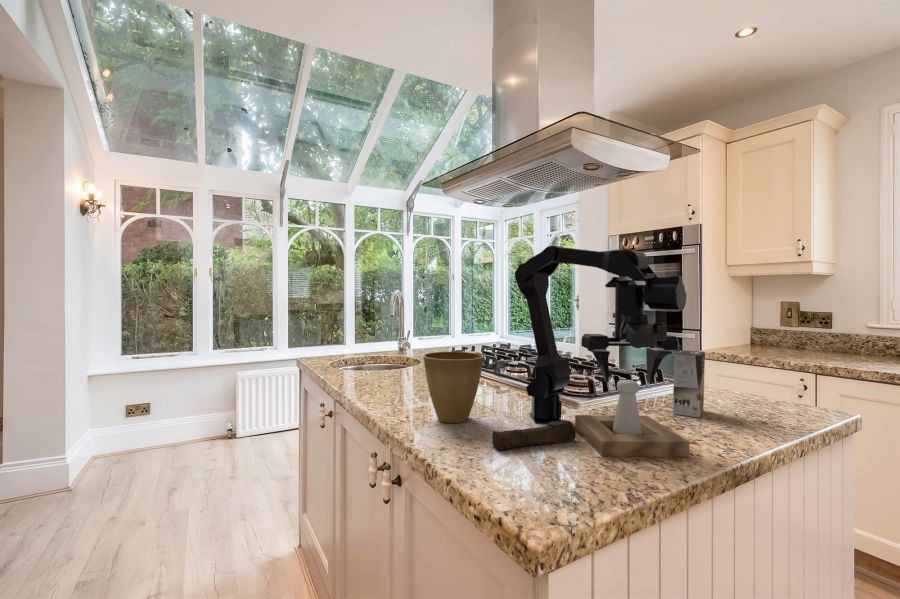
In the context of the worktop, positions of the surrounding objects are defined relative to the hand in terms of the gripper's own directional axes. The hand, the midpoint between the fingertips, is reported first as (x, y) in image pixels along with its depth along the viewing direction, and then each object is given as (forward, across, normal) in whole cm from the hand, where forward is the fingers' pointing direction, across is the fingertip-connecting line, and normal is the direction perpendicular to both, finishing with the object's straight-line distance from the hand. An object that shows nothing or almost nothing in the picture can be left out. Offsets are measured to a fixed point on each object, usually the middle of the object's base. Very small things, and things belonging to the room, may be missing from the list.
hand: (628, 382), depth 90 cm
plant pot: (+13, -37, +15) cm, 42 cm away
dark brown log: (+13, -20, -2) cm, 24 cm away
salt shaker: (+13, 0, 0) cm, 13 cm away
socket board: (+13, 0, 0) cm, 13 cm away
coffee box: (+13, +26, +22) cm, 36 cm away
